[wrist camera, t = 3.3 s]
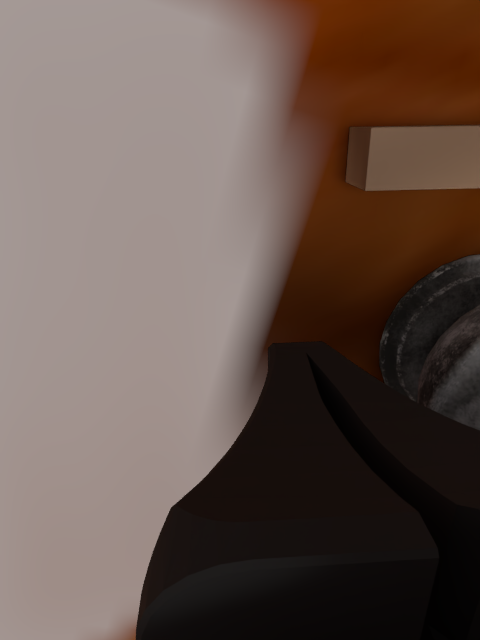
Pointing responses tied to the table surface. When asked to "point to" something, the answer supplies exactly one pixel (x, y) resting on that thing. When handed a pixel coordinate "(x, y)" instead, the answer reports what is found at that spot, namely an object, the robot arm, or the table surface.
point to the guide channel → (414, 157)
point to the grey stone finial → (438, 342)
